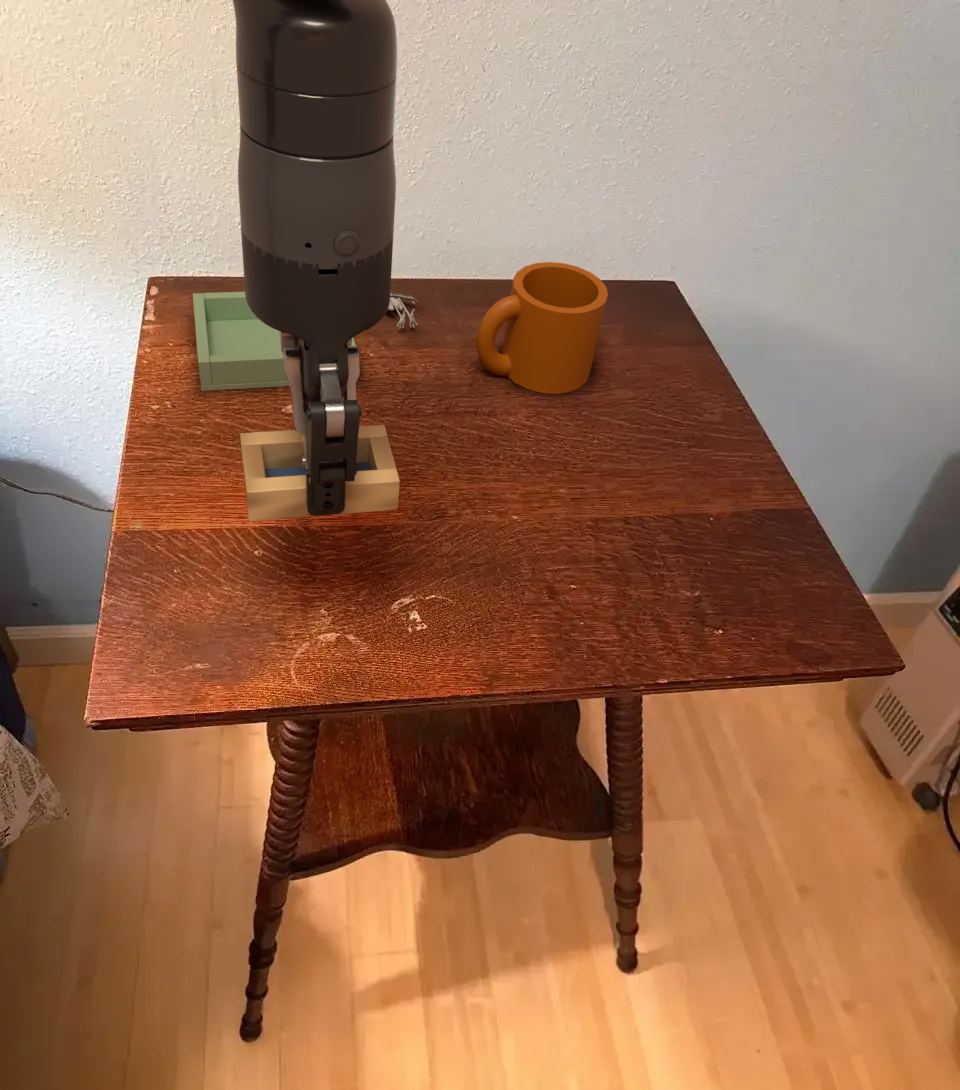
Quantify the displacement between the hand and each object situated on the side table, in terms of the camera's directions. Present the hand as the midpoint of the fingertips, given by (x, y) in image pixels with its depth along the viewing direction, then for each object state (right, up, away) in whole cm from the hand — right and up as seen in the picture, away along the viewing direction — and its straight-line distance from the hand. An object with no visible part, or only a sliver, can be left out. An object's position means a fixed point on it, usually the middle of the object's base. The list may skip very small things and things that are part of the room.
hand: (319, 477), depth 59 cm
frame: (0, -1, +1) cm, 1 cm away
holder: (-10, +14, +31) cm, 36 cm away
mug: (+15, +13, +34) cm, 39 cm away
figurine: (+3, +19, +38) cm, 43 cm away
